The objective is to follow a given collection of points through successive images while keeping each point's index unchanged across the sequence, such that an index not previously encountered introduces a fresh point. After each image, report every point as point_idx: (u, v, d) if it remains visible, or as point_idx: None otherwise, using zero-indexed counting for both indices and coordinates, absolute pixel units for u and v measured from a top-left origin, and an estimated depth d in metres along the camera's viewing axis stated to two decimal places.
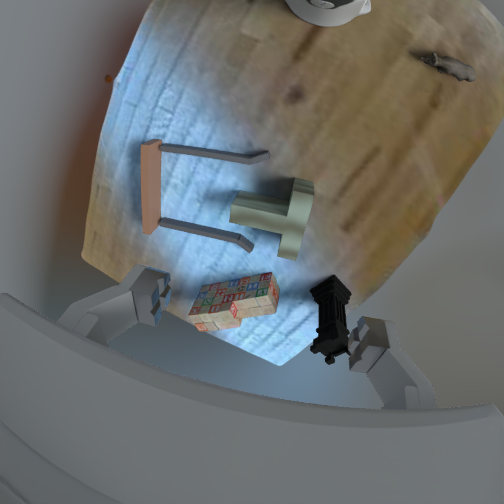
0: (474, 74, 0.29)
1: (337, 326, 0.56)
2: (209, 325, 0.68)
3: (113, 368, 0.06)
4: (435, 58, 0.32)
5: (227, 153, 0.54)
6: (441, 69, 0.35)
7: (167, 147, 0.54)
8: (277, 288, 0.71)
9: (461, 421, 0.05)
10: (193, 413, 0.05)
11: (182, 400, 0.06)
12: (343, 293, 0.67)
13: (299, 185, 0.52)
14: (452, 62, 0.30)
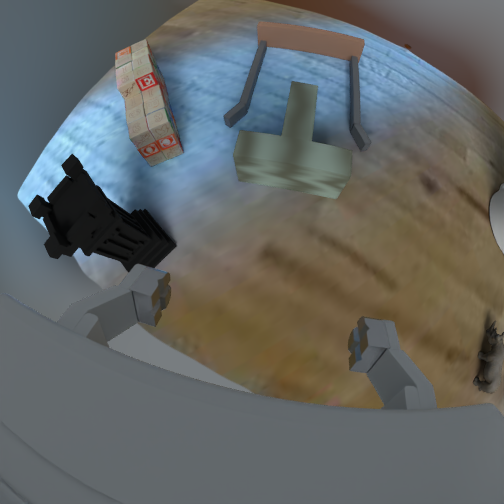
0: (497, 387, 0.27)
1: (107, 219, 0.25)
2: (124, 59, 0.34)
3: (113, 368, 0.06)
4: (501, 336, 0.30)
5: None
6: None
7: (356, 61, 0.42)
8: (156, 159, 0.41)
9: (461, 421, 0.05)
10: (193, 413, 0.05)
11: (182, 400, 0.06)
12: (144, 262, 0.37)
13: None
14: None
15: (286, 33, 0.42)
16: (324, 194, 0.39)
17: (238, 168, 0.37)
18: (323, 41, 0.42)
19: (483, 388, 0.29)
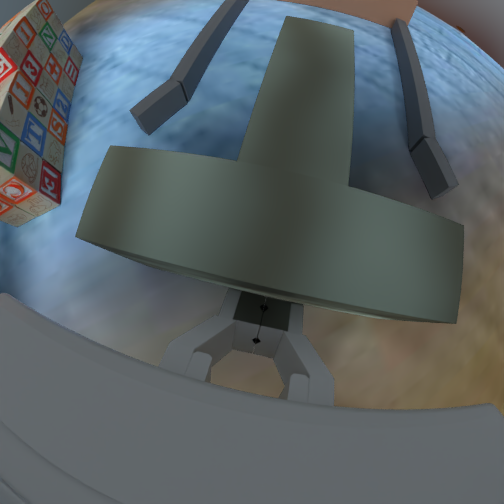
0: None
1: None
2: None
3: (113, 368, 0.06)
4: None
5: None
6: None
7: (405, 26, 0.19)
8: (17, 217, 0.16)
9: (461, 421, 0.05)
10: (193, 413, 0.05)
11: (182, 400, 0.06)
12: None
13: None
14: None
15: None
16: (353, 313, 0.15)
17: (123, 255, 0.13)
18: None
19: None
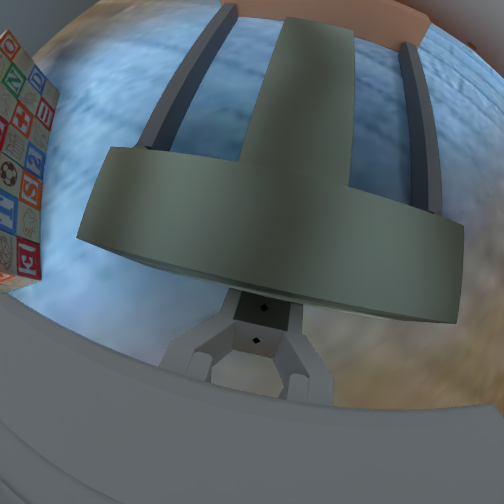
0: None
1: None
2: None
3: (113, 368, 0.06)
4: None
5: None
6: None
7: (416, 52, 0.18)
8: (1, 289, 0.15)
9: (461, 421, 0.05)
10: (193, 413, 0.05)
11: (182, 400, 0.06)
12: None
13: None
14: None
15: None
16: (353, 313, 0.15)
17: (124, 256, 0.13)
18: (351, 7, 0.17)
19: None
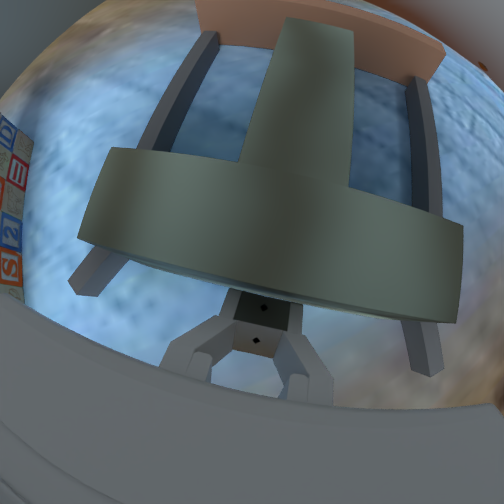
0: None
1: None
2: None
3: (113, 368, 0.06)
4: None
5: None
6: None
7: (426, 91, 0.17)
8: None
9: (461, 421, 0.05)
10: (193, 413, 0.05)
11: (182, 400, 0.06)
12: None
13: None
14: None
15: (263, 11, 0.16)
16: (353, 313, 0.15)
17: (124, 256, 0.13)
18: None
19: None
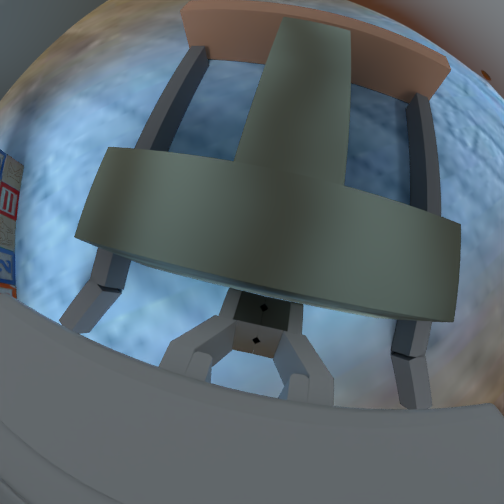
0: None
1: None
2: None
3: (113, 368, 0.06)
4: None
5: None
6: None
7: (428, 110, 0.16)
8: None
9: (461, 421, 0.05)
10: (193, 413, 0.05)
11: (182, 400, 0.06)
12: None
13: None
14: None
15: (253, 24, 0.16)
16: None
17: (122, 255, 0.13)
18: None
19: None
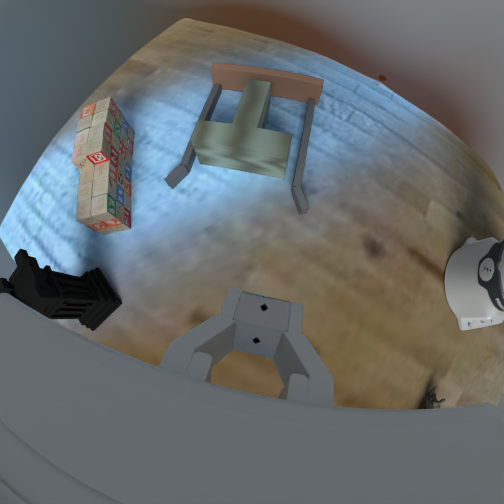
0: None
1: (53, 300, 0.27)
2: (85, 121, 0.36)
3: (113, 368, 0.06)
4: (438, 402, 0.33)
5: None
6: None
7: (313, 105, 0.46)
8: (106, 231, 0.43)
9: (461, 421, 0.05)
10: (193, 413, 0.05)
11: (182, 400, 0.06)
12: (95, 317, 0.40)
13: None
14: None
15: (239, 76, 0.45)
16: (272, 175, 0.45)
17: (197, 151, 0.42)
18: (278, 83, 0.46)
19: None
